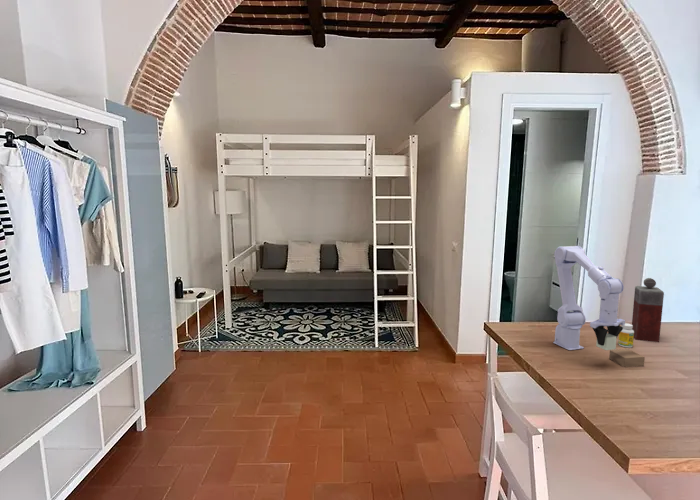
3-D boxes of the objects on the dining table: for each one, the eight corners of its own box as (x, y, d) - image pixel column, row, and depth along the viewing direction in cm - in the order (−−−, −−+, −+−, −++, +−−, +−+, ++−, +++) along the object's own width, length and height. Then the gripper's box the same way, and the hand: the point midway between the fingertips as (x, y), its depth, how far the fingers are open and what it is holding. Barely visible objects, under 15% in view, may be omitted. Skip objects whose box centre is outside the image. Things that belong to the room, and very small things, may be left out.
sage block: (596, 346, 155) (597, 333, 155) (605, 345, 157) (606, 332, 156) (606, 350, 151) (607, 337, 150) (615, 349, 152) (616, 336, 152)
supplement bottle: (621, 342, 178) (623, 321, 177) (635, 346, 173) (636, 325, 172) (615, 345, 175) (617, 324, 174) (629, 348, 170) (631, 327, 169)
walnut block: (609, 359, 160) (609, 350, 160) (627, 358, 161) (628, 349, 160) (624, 368, 152) (625, 358, 152) (643, 366, 153) (644, 357, 153)
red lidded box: (652, 334, 188) (657, 276, 184) (659, 342, 178) (665, 281, 174) (629, 332, 191) (634, 274, 188) (635, 339, 181) (640, 279, 178)
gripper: (602, 314, 146) (599, 349, 148) (633, 311, 150) (630, 345, 152) (586, 309, 153) (584, 343, 155) (616, 306, 157) (614, 339, 158)
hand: (606, 344), depth 154 cm, fingers closed on sage block, 4 cm apart
